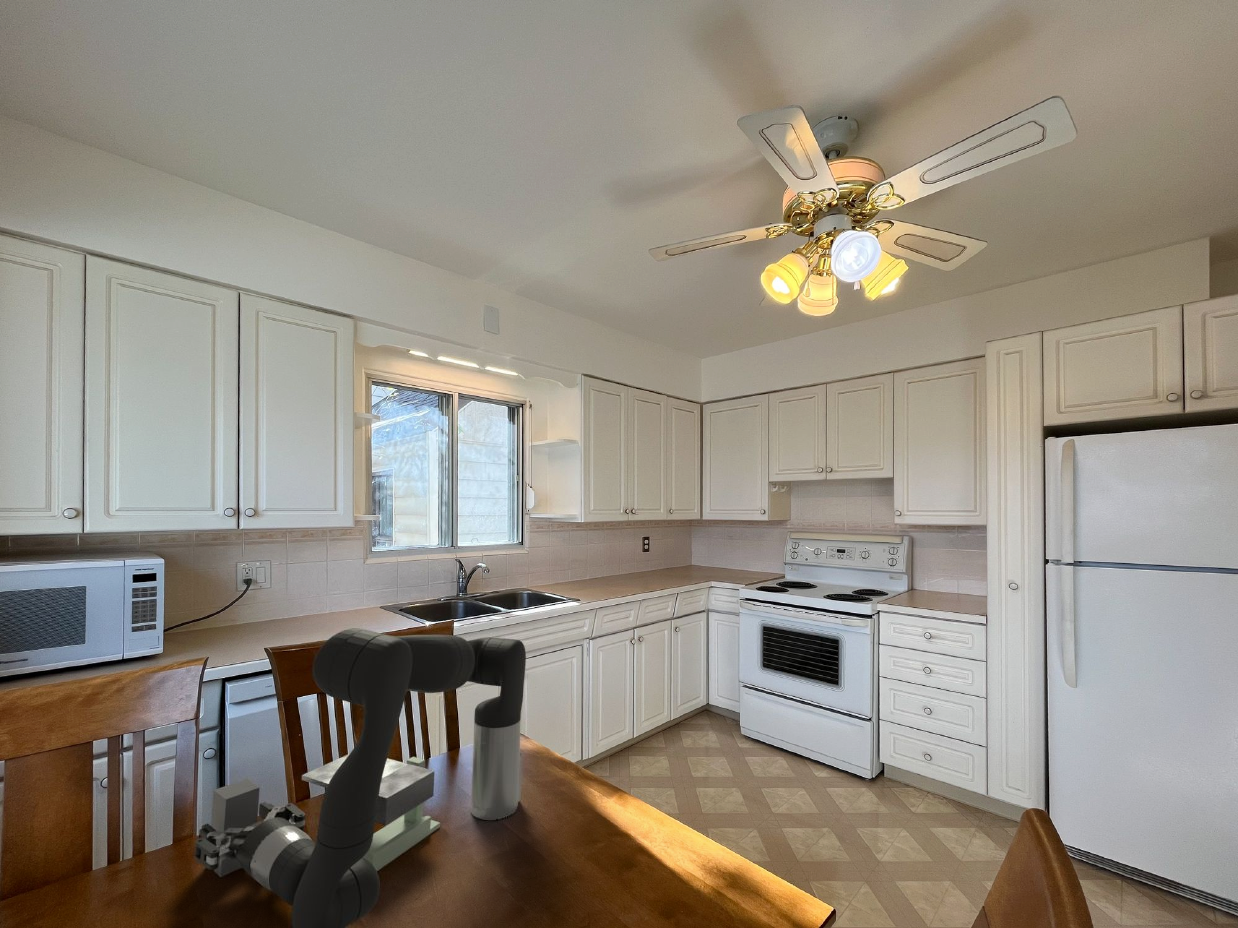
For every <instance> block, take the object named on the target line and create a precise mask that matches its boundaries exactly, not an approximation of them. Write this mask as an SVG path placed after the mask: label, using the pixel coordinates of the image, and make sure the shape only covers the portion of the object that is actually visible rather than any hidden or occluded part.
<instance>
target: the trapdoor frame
mask: <svg viewBox="0 0 1238 928" xmlns="http://www.w3.org/2000/svg"><path fill="white" fill-rule="evenodd" d="M410 763H412V764H413V765H415V766H419V767H422V768H426V760H425V759H424V758H423V759H422V758H419V757H416V756H412V757H409V758H408V759H406V764H410ZM423 812H424V802H423V803H422V804H420V805H418V806H417V807H415V808H413V809H412V810H410V811H409V812H407V813H405V814H404V815H402V816H401V817H399V818H397V819H396V820H394V821H393V822H391V823H389V824H388V825H386V826H384V827H382V828H381V829H378V831H376V832H374V834H373V840H372V844H371V846H370V849H369V850H368V852H367V853H366V854H365V855H364V856H363V858H365V859H367V860H368V861H369V862H370V863H371V864H372V865H373V866H374V868H375V869H376V871H377V872H378V871H379V870H381V869H382V868H383V867H385V866H387V865H388V864H389V863H391V862H392V861H394V860H395V859H396V858H398V857H400V856H401V855H402V854H403V853H405V852H407V851H408V850H409V849H411V848H413V846H415V845H416V844H418V843H420V842H421V841H422V840H424V839H425V838H427V837H428V836H429V835H431V834H432V833H433V832H435V831H436V830H438V829H439V828H440V827H441V822H439V821H436V820H433V819H432V817H431V816H430V815H426V816H424V815H423V814H424V813H423Z"/></svg>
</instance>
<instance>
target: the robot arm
mask: <svg viewBox="0 0 1238 928" xmlns="http://www.w3.org/2000/svg"><path fill="white" fill-rule="evenodd" d="M526 655H527V654H526V647H525V644H524V643H523V642H522V641H521V640H520V639H514V638H503V637H493V636H492V637H490V636H489V637H488V636H486V637H480V638H475V639H469V640H467V639H465V638H463V637H461V636H457V635H450V634H411V635H396V636H395V635H389V634H385V633H380V632H376V631H372V630H369V629H363V628H359V627H358V628H348V629H344V630H342V631H339V632H336V633H335V634H334V635H332V636H330V638H328V639H327V640H326V641H325V642H324V643H323V644H322V645H321V646H320V648H319V650H318V651H317V652H316V654H315V657H314V659H313V663H312V676H313V680H314V683H315V684H316V686H317V687H318V689H319V690H320V691H322V693H324V694H325V695H327V696H329V697H331V698H334V699H336V700H340V701H344V702H347V703H351V704H354V705H357V706H360V707H363V721H362V722H363V723H362V729H361V733H360V736H359V739H358V741H357V743H356V744H355V746H354V747H353V749H352V750H351V751H350V753H349V756H348V757H347V758H346V759H345V761H344V762H343V763H342V764H341V766H340V767H339V768H338V770H337V771H336V772H335V774H334V775H333V777H332V778H331V780H330V782H329V784H328V786H327V788H325V790H324V793H323V797H322V801H321V807H320V812H319V820H318V827H317V835H316V842H315V841H314V840H313V839H312V838H311V837H310V835H308V834H307V833H306V832H304V830H305V828H306V827H305V823H306V813H305V812H304V811H303V810H301V809H300V808H299V807H298V806H297V805H295V804H294V803H291V802H290V803H287V804H285V806H284V807H281V806H275V805H273V804H272V803H267V802H266V801H264V802H259V805H258V817H259V818H261V819H263V820H262V821H261V820H260V821H257V823H255V824H253V825H251V826H247V827H244V828H228V829H227V830H225V831H216V830H215V829H214V828H213V827H212V826H211V824H210V823H205V824H202V826H201V828H200V829H199V830H198V839H196V840H195V842H194V845H195V846H194V847H195V848H194V856H193V859H194V860H195V861H196V862H198V863H199V864H201V865H202V866H204V867H205V868H206V869H208V870H210V871H213V870H214V869H217V868H218V867H219V862H220V861H222V860H224V859H226V858H228V857H229V858H231V859H237V860H238V861H239V863H240V865H241V867H242V868H241V869H243V870H244V871H245V872H246V873H247V874H248V875H249V876H250V877H252V878H253V879H254V880H255V881H256V882H257V883H259V885H261V886H262V887H264V888H265V889H266V890H269V891H271V892H273V893H274V894H275V895H276V896H278V897H279V898H280V899H281V900H283V901H284V902H285V903H286V904H288V905H289V906H292V907H291V925H292V926H291V927H292V928H347V927H349V926H350V925H352V924H353V923H355V922H357V921H358V920H360V919H361V918H364V917H365V916H366V915H367V914H369V913H370V912H371V911H372V909H373V908H374V906H376V903H377V901H378V899H379V896H380V892H381V883H380V877H379V873H378V871H376V869H375V868H374V866H373V865H372V864H371V863H370V862H369V861H368V860H367V859H365V858H363V856H364V855H365V854H366V853H367V852H368V850H369V849H370V846H371V844H372V840H373V834H374V833H375V825H376V823H375V819H376V812H377V805H378V797H379V791H380V785H381V780H382V776H383V772H384V768H385V764H386V761H387V758H388V756H389V754H390V750H391V747H392V743H393V742H394V741H393V740H394V737H395V735H396V731H397V727H398V724H399V721H400V716H401V713H402V710H403V706H404V703H405V699H406V696H407V692H408V691H409V692H414V693H415V692H416V693H423V694H424V693H425V694H435V693H436V694H437V693H445V692H450V691H455V690H458V689H459V688H461V687H462V686H464V685H466V683H467V682H468V683H473V684H474V683H475V684H478V685H484V686H485V685H486V686H490V687H492V686H494V687H500V692H499V695H498V696H496V697H492V698H489V699H484V700H483V701H481V702H480V703H478V704H477V705H476V707H475V709H474V719H473V747H472V749H473V751H472V773H471V774H472V775H471V797H470V800H471V801H470V812H471V814H472V816H474V817H475V818H477V819H480V820H485V821H495V820H496V819H498V820H502V818H503V819H505V817H506V818H508V817H510V816H511V814H512V815H514V813H516V812H517V810H518V808H519V803H518V801H519V800H520V801H521V788H522V761H523V760H522V758H523V756H522V753H521V750H520V749H521V719H522V717H521V716H522V709H523V703H524V702H523V701H524V689H525V688H524V686H525V674H526V664H527V656H526ZM517 807H518V808H517ZM516 809H517V810H516ZM509 815H510V816H509ZM507 816H508V817H507ZM496 821H497V820H496ZM231 836H234V838H233V840H232V841H231V843H230V838H231ZM216 839H220V840H221V844H216Z"/></svg>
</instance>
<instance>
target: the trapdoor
mask: <svg viewBox="0 0 1238 928" xmlns="http://www.w3.org/2000/svg"><path fill="white" fill-rule="evenodd" d="M349 754H350V753H349ZM349 754H345V755H344V756H342V757H340V758H337V759H334V760H332V761H331V762H328V763H326V764H324V765H322V766H319V767H317V768H315V769H312V770H311V771H308V772H306V773H304V774H302V775H301V781H305V782H308V783H310V784H313V785H315V786H320V787H322V788H325V789H326V788H327V786H328V784H329V782H330V780H331V778H332V777H333V775H334V774H335V772H336V771H337V770H338V768H339V767H340V766H341V764H342V763H343V762H344V761H345V759H346V758H347V757H348V756H349ZM434 788H435V770H433V769H429V768H426V767H425V768H422V767H419V766H415V765H413V764H412V763H410V764H407V762H406V763H404V762H402V761H399V760H395V759H391V758H388V757H387V761H386V764H385V768H384V772H383V776H382V780H381V785H380V791H379V797H378V805H377V812H376V819H375V824H379V825H381V826H384V827H385V826H387V825H389V824H390V823H392V822H393V821H395V820H397V819H398V818H400V817H401V816H403V815H404V814H405V813H407V812H409V811H410V810H412V809H413V808H415V807H417V806H418V805H420V804H422V803H423V804H424V803H425V802H426V801H428V800H429V799H431V798H432V797H434V791H435V789H434Z"/></svg>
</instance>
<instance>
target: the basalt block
mask: <svg viewBox="0 0 1238 928" xmlns="http://www.w3.org/2000/svg"><path fill="white" fill-rule="evenodd" d="M260 788H261V787H260V786H258V785H257V784H256V783H254V782H252V781H251V780H250V779H247V778H244V779H243V780H240V781H239V780H238V781H236V782H233V783H230V784H227V785H225V786H222V787H219V788H216V789H213V794H212V804H211V805H212V806H211V807H212V808H211V820H210V822H211V823H210V826H212V827H213V828H214V829H215V830H216V831H225V830H227V829H228V828H244V827H247V826H251V825H253V824H255V823H257V822H258V817H259V805H260ZM233 838H234V836H231V838H230V843H231V841H232V840H233ZM216 844H221V840H220V839H216ZM239 869H243V868H242V867H241V865H240V863H239V861H238V860H237V859H231V858H229V857H228V858H226V859H224V860H222V861H220V862H219V867H218V868H217V869H214V871H213V872H214V873H215V874H217V876H219V877H220V878H221V877H225V876H227V875H228V874H230V873H233V872H236V871H237V870H239Z"/></svg>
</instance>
